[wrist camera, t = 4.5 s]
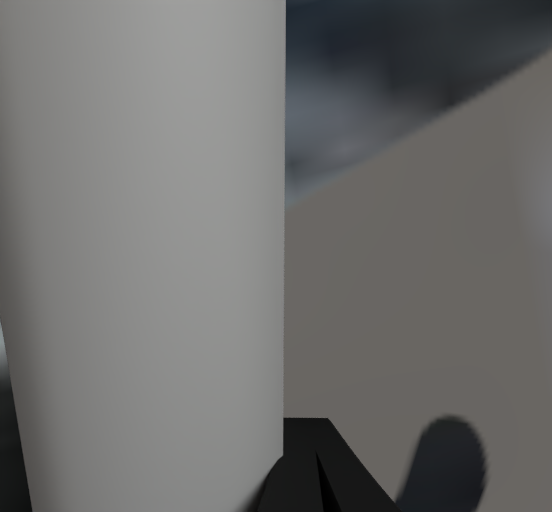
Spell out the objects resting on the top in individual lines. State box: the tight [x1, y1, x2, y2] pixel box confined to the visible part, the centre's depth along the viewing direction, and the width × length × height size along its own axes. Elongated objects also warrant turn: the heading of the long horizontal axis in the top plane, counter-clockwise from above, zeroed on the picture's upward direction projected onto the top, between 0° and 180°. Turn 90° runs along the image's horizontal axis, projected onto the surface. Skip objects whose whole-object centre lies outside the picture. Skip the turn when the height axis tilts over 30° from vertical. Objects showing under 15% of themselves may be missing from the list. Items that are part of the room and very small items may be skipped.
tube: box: [0, 0, 286, 512], centre depth 8 cm, size 5×5×25 cm
